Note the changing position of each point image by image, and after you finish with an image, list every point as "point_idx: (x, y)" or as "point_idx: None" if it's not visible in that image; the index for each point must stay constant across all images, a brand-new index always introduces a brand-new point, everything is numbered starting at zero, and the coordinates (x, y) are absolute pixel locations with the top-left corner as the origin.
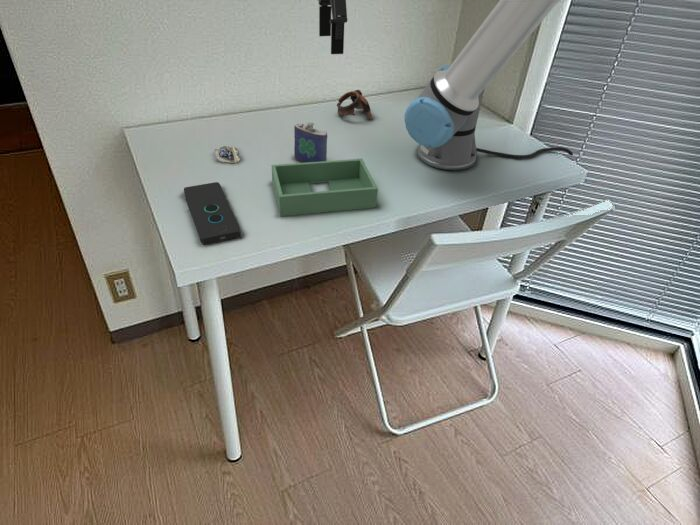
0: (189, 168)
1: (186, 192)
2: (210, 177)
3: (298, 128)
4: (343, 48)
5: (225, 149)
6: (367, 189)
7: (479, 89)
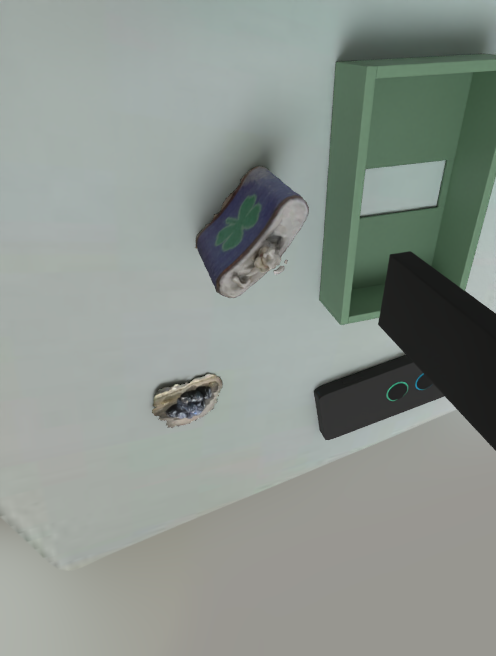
0: (234, 446)
1: (340, 433)
2: (273, 409)
3: (250, 286)
4: (430, 267)
5: (177, 410)
6: None
7: None
